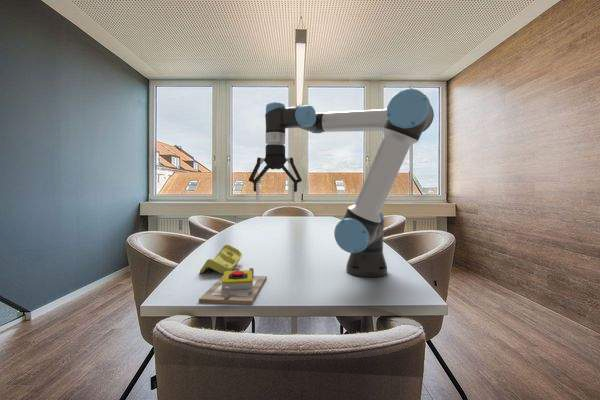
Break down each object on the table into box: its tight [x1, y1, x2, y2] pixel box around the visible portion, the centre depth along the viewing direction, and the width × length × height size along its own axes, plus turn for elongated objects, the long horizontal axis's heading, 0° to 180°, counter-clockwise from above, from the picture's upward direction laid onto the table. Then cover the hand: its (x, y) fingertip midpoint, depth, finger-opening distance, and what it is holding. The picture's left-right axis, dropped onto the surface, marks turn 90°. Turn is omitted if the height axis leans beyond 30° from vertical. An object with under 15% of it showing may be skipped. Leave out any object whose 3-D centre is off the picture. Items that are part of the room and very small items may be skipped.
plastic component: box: [199, 244, 243, 275], centre depth 124 cm, size 20×7×10 cm
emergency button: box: [221, 269, 253, 294], centre depth 100 cm, size 9×4×15 cm
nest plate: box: [198, 266, 268, 305], centre depth 99 cm, size 23×15×4 cm, turn 176°
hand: (275, 200), depth 122 cm, fingers open, 13 cm apart
